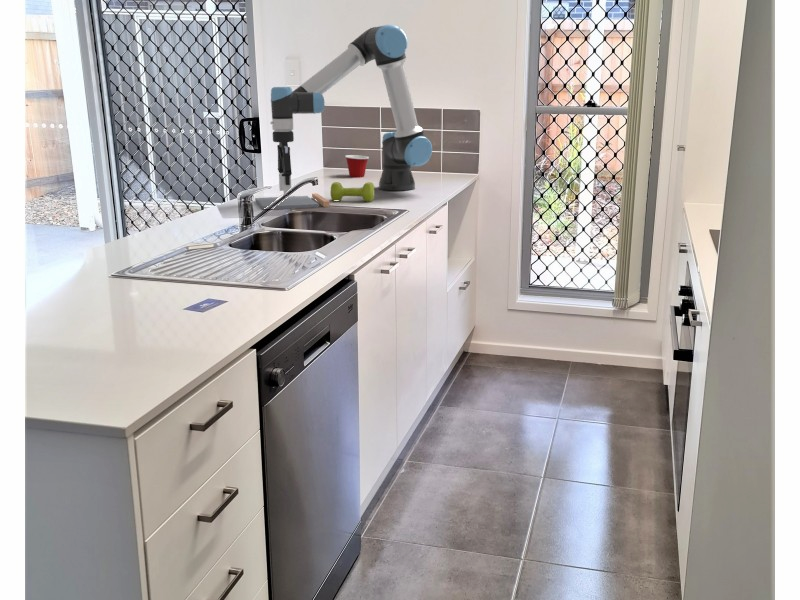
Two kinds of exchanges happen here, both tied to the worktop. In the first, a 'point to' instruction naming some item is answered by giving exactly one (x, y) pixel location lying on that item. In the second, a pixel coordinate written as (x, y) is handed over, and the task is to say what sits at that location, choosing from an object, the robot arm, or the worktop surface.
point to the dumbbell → (352, 191)
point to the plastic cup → (356, 165)
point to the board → (288, 202)
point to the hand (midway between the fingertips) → (285, 192)
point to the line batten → (321, 200)
